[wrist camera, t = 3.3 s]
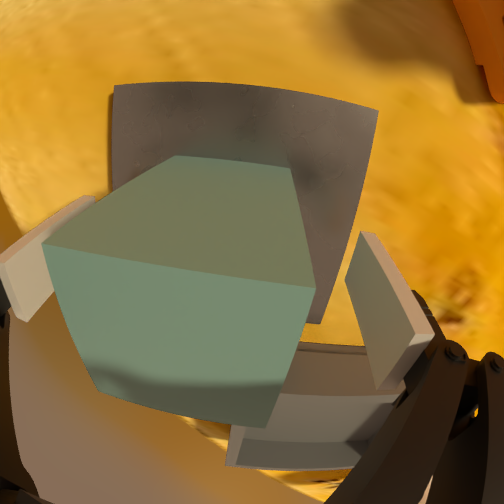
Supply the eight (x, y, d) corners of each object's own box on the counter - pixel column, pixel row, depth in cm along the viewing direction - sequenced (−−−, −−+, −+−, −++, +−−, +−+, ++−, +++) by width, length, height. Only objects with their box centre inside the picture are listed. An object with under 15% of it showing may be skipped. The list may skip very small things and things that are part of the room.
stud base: (122, 85, 13) (54, 86, 7) (372, 110, 12) (426, 116, 7) (130, 285, 20) (93, 341, 14) (318, 314, 19) (328, 383, 14)
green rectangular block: (175, 155, 14) (41, 243, 5) (290, 168, 14) (316, 288, 5) (174, 253, 17) (98, 391, 8) (272, 268, 17) (265, 428, 8)
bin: (244, 335, 21) (237, 388, 17) (450, 346, 21) (468, 385, 16) (229, 433, 31) (224, 465, 26) (369, 436, 31) (373, 465, 26)
